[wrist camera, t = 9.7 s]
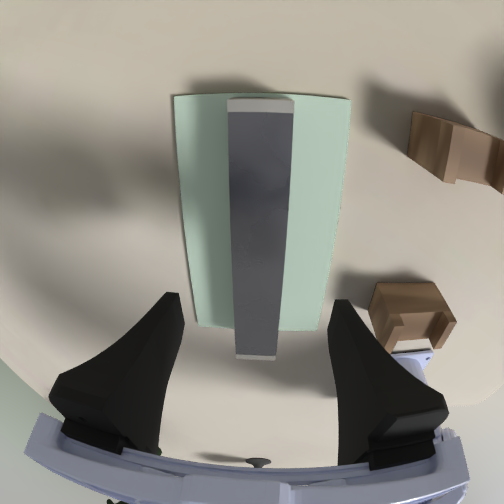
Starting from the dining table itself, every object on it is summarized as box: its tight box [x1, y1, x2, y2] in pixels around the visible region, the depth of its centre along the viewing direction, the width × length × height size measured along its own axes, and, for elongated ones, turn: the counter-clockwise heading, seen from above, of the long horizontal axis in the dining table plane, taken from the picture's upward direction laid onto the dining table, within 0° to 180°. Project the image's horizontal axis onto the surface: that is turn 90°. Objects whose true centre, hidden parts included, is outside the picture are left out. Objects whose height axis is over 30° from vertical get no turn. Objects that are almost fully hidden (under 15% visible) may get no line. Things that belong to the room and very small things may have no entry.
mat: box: [174, 93, 351, 331], centre depth 19 cm, size 18×10×1 cm, turn 0°
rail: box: [227, 97, 295, 361], centre depth 18 cm, size 18×3×3 cm, turn 0°
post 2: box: [368, 283, 457, 354], centre depth 20 cm, size 3×6×5 cm, turn 90°
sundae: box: [246, 458, 271, 468], centre depth 40 cm, size 7×7×15 cm
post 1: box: [407, 111, 504, 194], centre depth 13 cm, size 3×6×5 cm, turn 90°
